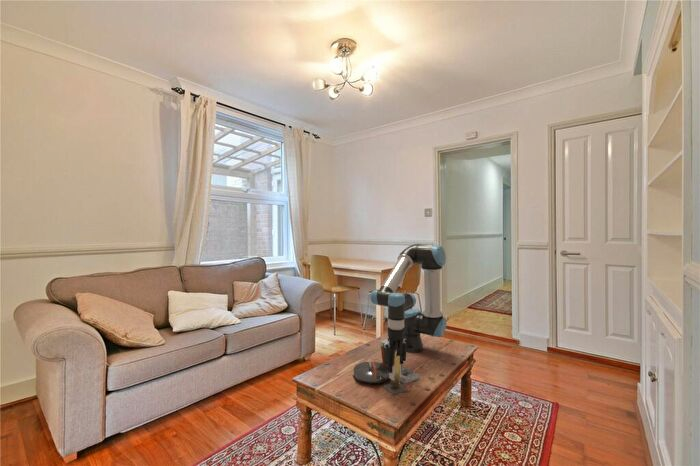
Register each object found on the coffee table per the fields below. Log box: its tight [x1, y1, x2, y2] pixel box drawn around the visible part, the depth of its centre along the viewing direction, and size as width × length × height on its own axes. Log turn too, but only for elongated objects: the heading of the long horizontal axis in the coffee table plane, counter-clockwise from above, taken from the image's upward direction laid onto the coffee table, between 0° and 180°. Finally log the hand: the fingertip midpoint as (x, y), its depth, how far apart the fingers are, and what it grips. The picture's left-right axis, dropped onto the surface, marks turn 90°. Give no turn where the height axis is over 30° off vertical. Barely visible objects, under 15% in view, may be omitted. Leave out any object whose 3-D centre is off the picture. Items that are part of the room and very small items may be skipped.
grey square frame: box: [399, 366, 420, 385], centre depth 148 cm, size 9×9×2 cm
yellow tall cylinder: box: [390, 352, 400, 390], centre depth 137 cm, size 4×4×15 cm
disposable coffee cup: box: [379, 337, 397, 366], centre depth 163 cm, size 10×10×12 cm
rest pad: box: [382, 382, 408, 396], centre depth 138 cm, size 8×8×1 cm
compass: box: [353, 361, 390, 384], centre depth 148 cm, size 18×18×7 cm
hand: (395, 377), depth 137 cm, fingers closed on yellow tall cylinder, 3 cm apart
